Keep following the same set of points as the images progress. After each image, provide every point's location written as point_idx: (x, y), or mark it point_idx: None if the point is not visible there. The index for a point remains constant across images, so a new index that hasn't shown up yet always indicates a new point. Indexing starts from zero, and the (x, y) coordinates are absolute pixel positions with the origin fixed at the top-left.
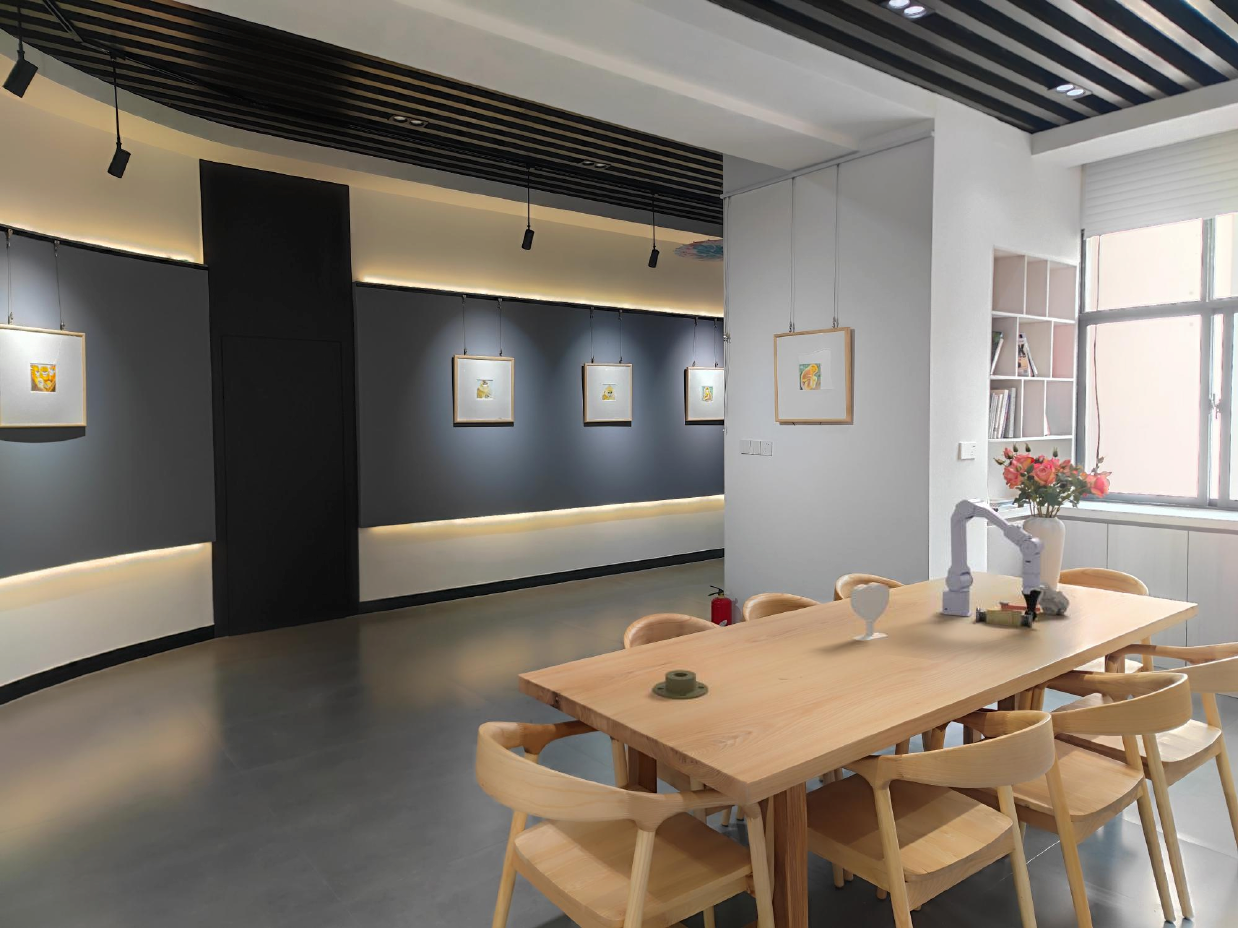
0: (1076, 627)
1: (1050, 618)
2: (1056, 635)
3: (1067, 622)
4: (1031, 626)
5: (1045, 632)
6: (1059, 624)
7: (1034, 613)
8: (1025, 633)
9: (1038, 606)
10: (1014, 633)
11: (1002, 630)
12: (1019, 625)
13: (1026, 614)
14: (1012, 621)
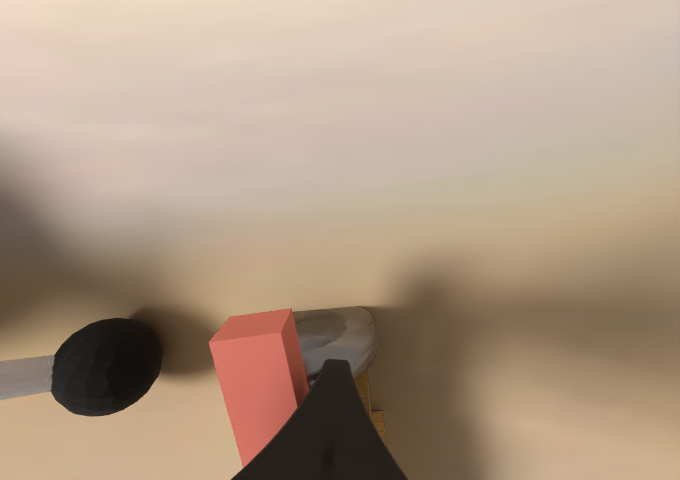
0: (171, 14)
1: (4, 237)
2: (538, 114)
3: (45, 108)
4: (363, 309)
5: (474, 201)
6: (152, 151)
7: (119, 347)
8: (571, 313)
9: (221, 358)
10: (602, 371)
11: (547, 440)
12: (366, 377)
13: (146, 390)
14: (384, 434)
